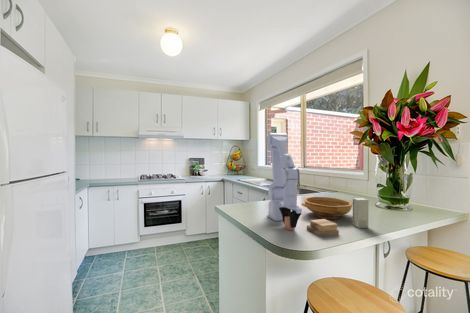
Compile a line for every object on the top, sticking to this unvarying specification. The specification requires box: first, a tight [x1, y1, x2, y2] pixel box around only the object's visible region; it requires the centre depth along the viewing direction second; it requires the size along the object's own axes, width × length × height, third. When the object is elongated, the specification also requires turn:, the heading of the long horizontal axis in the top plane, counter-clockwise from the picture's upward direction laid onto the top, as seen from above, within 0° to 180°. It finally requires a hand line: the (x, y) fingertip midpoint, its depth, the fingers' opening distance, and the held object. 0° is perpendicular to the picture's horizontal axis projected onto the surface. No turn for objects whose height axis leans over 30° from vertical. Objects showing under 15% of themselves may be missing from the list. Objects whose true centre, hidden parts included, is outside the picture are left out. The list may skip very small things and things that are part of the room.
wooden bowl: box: [301, 196, 353, 220], centre depth 119 cm, size 30×24×8 cm
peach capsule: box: [284, 216, 296, 231], centre depth 98 cm, size 4×4×5 cm
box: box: [352, 197, 369, 229], centre depth 102 cm, size 5×4×13 cm
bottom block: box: [306, 224, 340, 238], centre depth 94 cm, size 9×9×2 cm
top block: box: [309, 218, 338, 232], centre depth 94 cm, size 8×8×2 cm
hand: (289, 225), depth 98 cm, fingers open, 5 cm apart
